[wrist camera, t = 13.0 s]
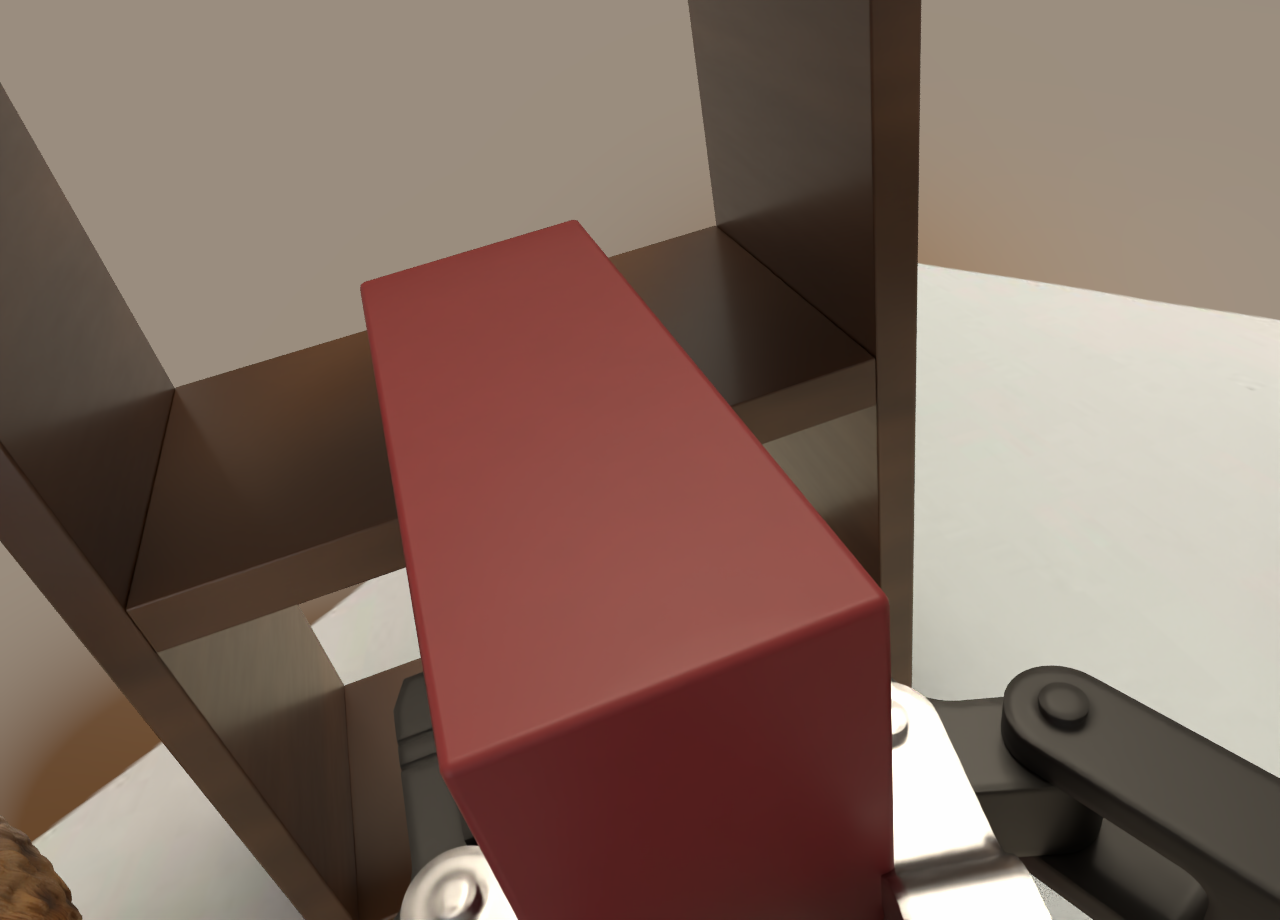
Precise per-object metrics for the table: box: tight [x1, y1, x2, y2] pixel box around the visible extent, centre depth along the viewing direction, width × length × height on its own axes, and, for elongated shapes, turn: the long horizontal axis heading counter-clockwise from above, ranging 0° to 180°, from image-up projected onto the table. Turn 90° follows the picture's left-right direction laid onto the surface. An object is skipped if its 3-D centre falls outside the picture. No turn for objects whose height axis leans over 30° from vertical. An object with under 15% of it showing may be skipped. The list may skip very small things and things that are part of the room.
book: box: [360, 220, 894, 920], centre depth 13 cm, size 3×9×11 cm, turn 19°
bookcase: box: [0, 0, 921, 920], centre depth 26 cm, size 21×11×32 cm, turn 109°
